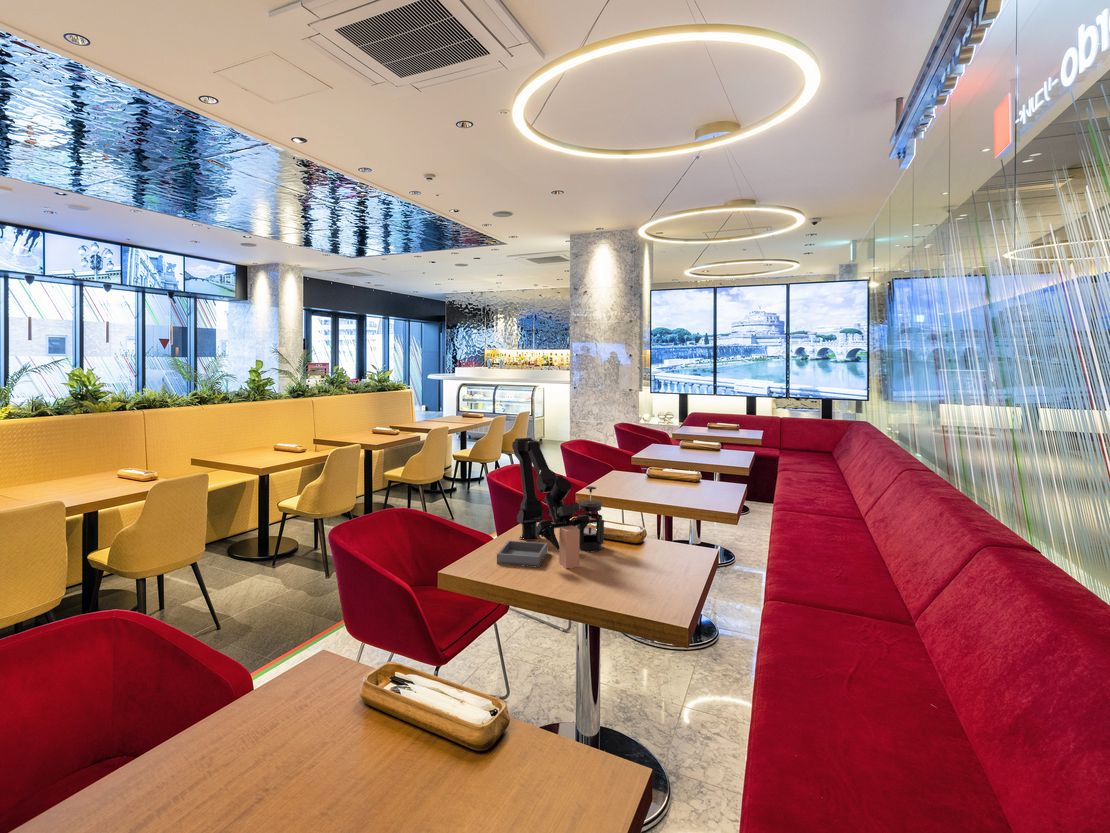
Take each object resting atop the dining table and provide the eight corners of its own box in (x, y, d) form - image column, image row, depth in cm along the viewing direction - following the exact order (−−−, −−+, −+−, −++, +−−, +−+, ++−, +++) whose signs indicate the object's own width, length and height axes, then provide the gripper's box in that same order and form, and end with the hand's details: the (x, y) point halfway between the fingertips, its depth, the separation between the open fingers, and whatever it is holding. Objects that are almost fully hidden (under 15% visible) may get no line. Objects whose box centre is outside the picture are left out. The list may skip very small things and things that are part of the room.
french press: (570, 546, 211) (571, 486, 208) (588, 541, 217) (589, 482, 215) (592, 554, 202) (593, 491, 200) (610, 549, 208) (612, 488, 206)
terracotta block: (559, 564, 192) (559, 527, 191) (572, 562, 195) (572, 525, 193) (565, 569, 188) (566, 531, 187) (578, 566, 190) (579, 529, 189)
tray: (508, 549, 206) (508, 540, 206) (547, 552, 204) (547, 543, 203) (496, 563, 192) (496, 553, 192) (538, 567, 189) (538, 557, 189)
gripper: (539, 497, 188) (553, 538, 180) (587, 492, 197) (603, 531, 188) (529, 514, 196) (543, 555, 188) (576, 508, 205) (591, 547, 196)
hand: (570, 546), depth 190 cm, fingers open, 9 cm apart
